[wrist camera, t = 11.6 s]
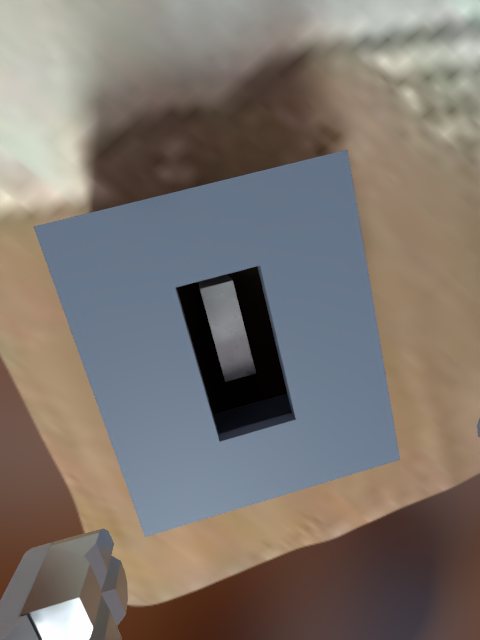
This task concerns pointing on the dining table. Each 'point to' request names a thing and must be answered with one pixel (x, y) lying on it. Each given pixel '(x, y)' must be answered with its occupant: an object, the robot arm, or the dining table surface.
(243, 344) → the grey rectangular block
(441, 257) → the dining table surface
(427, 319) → the dining table surface
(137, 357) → the coin box
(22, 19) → the dining table surface
